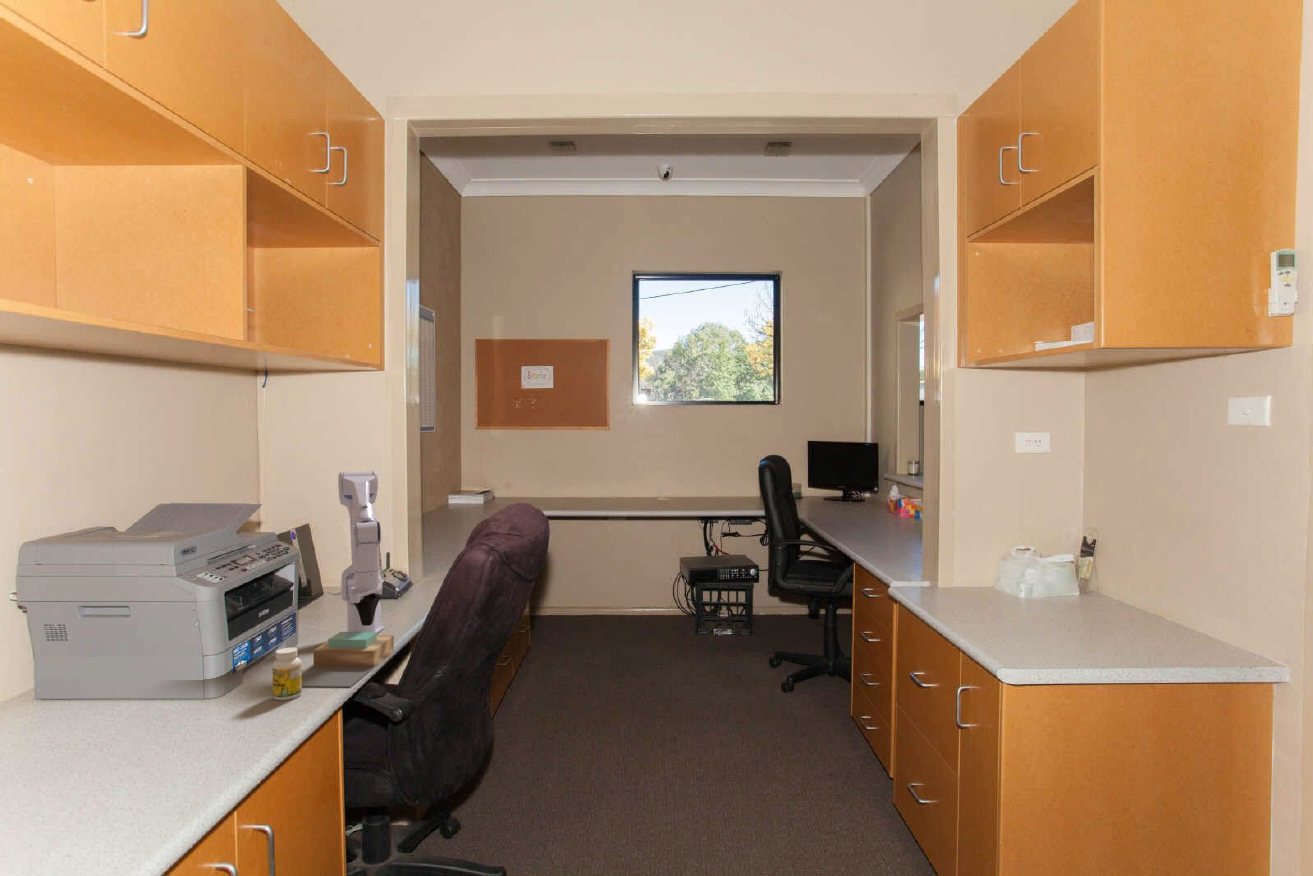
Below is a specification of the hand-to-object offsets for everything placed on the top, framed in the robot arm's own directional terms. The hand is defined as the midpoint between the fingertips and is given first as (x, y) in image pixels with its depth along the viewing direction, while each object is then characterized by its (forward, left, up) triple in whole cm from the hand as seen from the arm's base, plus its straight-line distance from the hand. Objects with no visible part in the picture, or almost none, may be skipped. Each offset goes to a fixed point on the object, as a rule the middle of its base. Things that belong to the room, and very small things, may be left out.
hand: (367, 624), depth 180 cm
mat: (+19, 0, -6) cm, 20 cm away
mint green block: (+8, 0, -2) cm, 8 cm away
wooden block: (+7, 0, -6) cm, 9 cm away
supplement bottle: (+30, -4, -7) cm, 31 cm away
